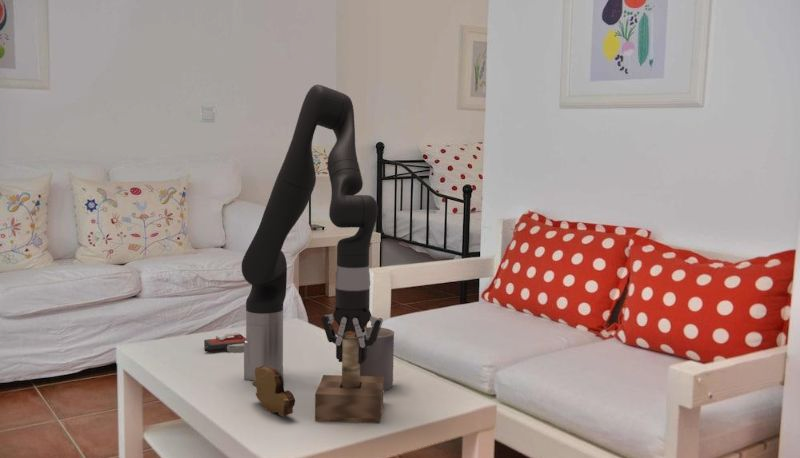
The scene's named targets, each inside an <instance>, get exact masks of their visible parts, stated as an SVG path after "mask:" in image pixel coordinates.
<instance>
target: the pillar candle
mask: <svg viewBox="0 0 800 458" xmlns="http://www.w3.org/2000/svg"><path fill="white" fill-rule="evenodd" d="M365 329H366V336H367V339H369V338H370V335H371V332H372V329H373V327H371V326H368V327H366V326H365ZM354 337H357V334H356V332H354ZM394 347H395V331H394V330H392V329H389V328H387V327H381V328H380V330H379V333H378V336H377V339H376V342H375V343H373V345H371V346H370V345H369V346H367V359H366V360H365V361H364V363H363V364H360V376H375V377H384V392H385V390H386V391H388V390H389V389H391V388H392V387H394V386H393V384H394V383H393V382H394V351H395V349H394Z"/></svg>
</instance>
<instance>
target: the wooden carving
mask: <svg viewBox="0 0 800 458" xmlns="http://www.w3.org/2000/svg"><path fill="white" fill-rule="evenodd" d="M283 376H284V375H283ZM283 376H282V375H281V373H280V372H278V371H277V370H276V369H274V368H273V367H271V366H266V367H265V366H262V367H257V368H256V369H255V377H256V380H255V381H253V380H252V381H251V382H252V383H251V384H252V386H253V388H254V387H255V388H256V392H255V396H256V398H257V399H258V401H259V403H260V404H261V405H262V407H263V408H264V409H265V410H266V411H268V412H270V413H272V414H274V413H278V415H280V416H281V417H286V416H289V415H291V414H293V412H294V410H293V409H294V406H295V405H296V398H295V396H294V394H293V393H292V392H291V390H288V389H287V390H285V387H284V386H285V382H284V377H283Z"/></svg>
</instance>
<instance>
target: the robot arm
mask: <svg viewBox="0 0 800 458" xmlns="http://www.w3.org/2000/svg"><path fill="white" fill-rule="evenodd" d="M354 111H355V110H354V104H353V101H352V99H351V97H350V96H348V95H347V94H345V93H343V92H341V91H338V90H335V89H333V88H331V87H327V86H325V85H322V84H315V85H312V86H311V87H310V88H309V90H308V91H307V93H306V95H305V98H304V100H303V102H302V104H301V108H300V112H299V114H298V117H297V121H296V124H295V127H294V128H295V129H294V132H293V135H292V139H291V141H290V143H289V144H290V145H289V147H288V149H287V152H286V155H285V158H284V160H283V163H282V165H281V167H280V169H279V172H278V174H277V177H276V179H275V181H274V184H273V186H272V189H271V192H270V195H269V198H268V201H267V204H266V206H265V209H264V212H263V215H262V216H261V220H260V223H259V225H258V228H257V231H256V233H255V235H254V236H253V238H252V240H251V242H250V244H249V246H248V248H247V250H246V251H245V254H244V256H243V258H242V261H241V274H242V276H243V278H244V280H245V281H246V282H247V283H249V284H250V285H251V289H250V292H249V295H248V297H247V298H246V301H245V338H246V340H245V342H244V352H243V379H244V380H250V381H252V382H253V381H255V380H256V377H255V369H256V368H257V367H262V366H265V367H266V366H271V367H273V368H274V369H276V370H277V371H278V372H280V373H281V375H282V376H284V304H285V299H286V297H287V282H288V281H287V280H288V263H287V258H286V255H285V254H284V252H283V251H282V250H283V249H282V248H283V246H284V243H285V241H286V239H287V237H288V235H289V233H290V232H291V230H292V229H293V227H295V226H296V224H297V222H298V221H299V219H300V218H301V216H302V215H303V213H304V212H305V210H306V208H307V206H308V203H309V201H310V199H311V196H312V193H313V191H314V189H315V186H316V182H317V174H316V169H315V163H314V162H315V161H314V159H313V158H314V157H313V147H312V146H313V138H314V135H315V131H316V129H317V126H320V127H322V128H326V129H328V130H332V131H333V133H334V135H335V139H336V142H335V143H334V145H333V147H332V149H330V151H329V154H328V157H327V162H326V163H327V172H328V177H329V181H330V185H331V195H330V196H331V198H330V205H329V212H328V213H329V214H328V216H329V219H330V222H331V223H332V224H333V225H334V226H335V227H337V228H345V229H346V228H358V229H357V231H356V233H355V234H354V235H352V236H349V237H345V238H342V239H340V240H338V242H337V244H336V245H337V246H336V271H335V285H334V286H335V290H334V291H335V293H334V295H335V296H334V297H335V303H334V306H335V309H334V311H333V313H331V314H327V313H326V314H325V315H324V316H322V317H321V323H322V326H323V329H324V332H325V335H326V338H327V341H328V342H329V343H332V344H335V358H336V360H338V363H342V339H343V338H344V337H346V335H347V333H349V332H352V333H355V332H356V334H357V338H358V339H359V343H360V347H359V364H363V363H364V361H365V360H366V359H367V346H369V345H370V346H371V345H373V343H375V342H376V339H377V336H378V333H379V330H380V328H382V325H383V320H384V319H383V318H381V317H379V318H378V317H376V316H373V315H372V313H371V311H370V301H371V300H370V295H371V294H370V293H371V292H370V291H371V290H370V289H371V288H370V286H371V276H370V275H371V273H370V248H371V247H370V246H371V241H372V237H373V233H374V229H375V227H376V222H377V219H378V216H379V206H378V205H379V204H378V203H377V201H376V199H375V198H374V197H373V196H372V195H369V194H359V193H360V192H361V191H362V189H363V184H364V182H363V177H362V172H361V170H360V165H359V161H358V157H357V151H356V150H357V149H356V128H355V112H354ZM334 320H335V321H334ZM334 322H336V323H337V325H338V332H337V335H336V331H335V329H334V325H333V323H334ZM369 322H370V327H373V329H372V332H371V335H370V338H369V339H367V336H366V329H365V328H366V325H367V324H368V323H369Z"/></svg>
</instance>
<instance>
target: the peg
mask: <svg viewBox="0 0 800 458" xmlns="http://www.w3.org/2000/svg"><path fill="white" fill-rule="evenodd" d="M359 347H360V343H359V339H358V338H357V337H355V336H345V337H344V338H343V339H342V362H341V376H342V388H360V364H359Z"/></svg>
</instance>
